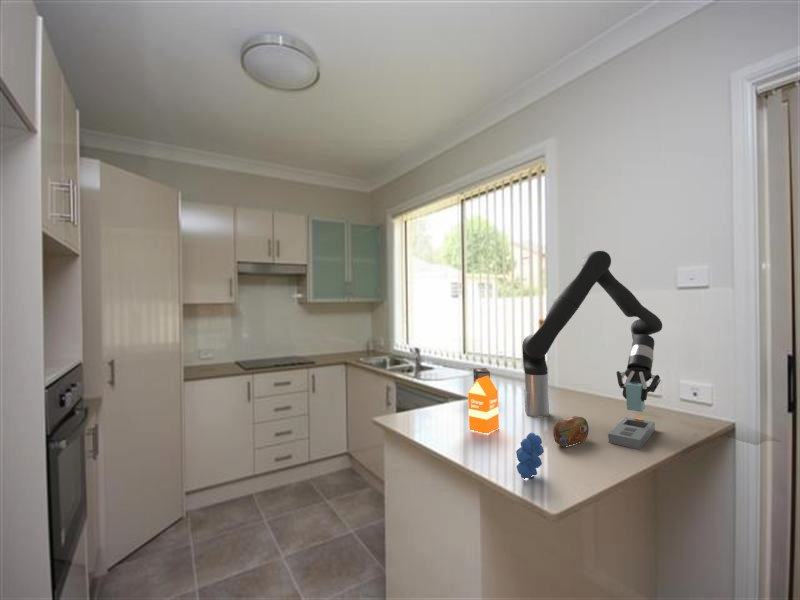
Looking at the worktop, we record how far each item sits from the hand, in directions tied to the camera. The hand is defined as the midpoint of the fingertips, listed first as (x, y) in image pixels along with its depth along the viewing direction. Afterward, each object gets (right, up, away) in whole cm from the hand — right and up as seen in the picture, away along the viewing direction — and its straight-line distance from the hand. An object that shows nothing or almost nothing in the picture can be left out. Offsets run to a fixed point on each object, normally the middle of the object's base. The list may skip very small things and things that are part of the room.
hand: (634, 398), depth 129 cm
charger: (+2, -4, +1) cm, 5 cm away
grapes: (-47, -14, -28) cm, 56 cm away
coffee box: (-44, -14, +43) cm, 63 cm away
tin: (-25, -14, -6) cm, 29 cm away
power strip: (-2, -12, -2) cm, 13 cm away
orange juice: (-51, -14, +9) cm, 53 cm away
